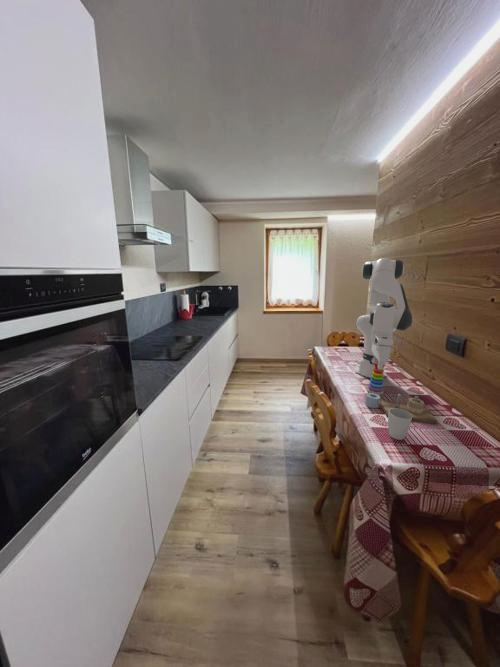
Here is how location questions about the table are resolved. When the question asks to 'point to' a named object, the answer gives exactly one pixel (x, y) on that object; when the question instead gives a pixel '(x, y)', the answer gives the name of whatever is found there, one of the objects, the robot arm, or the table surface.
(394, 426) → the cup
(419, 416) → the gear board
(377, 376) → the stacking toy
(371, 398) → the loose gear
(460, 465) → the table surface
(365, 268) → the robot arm
